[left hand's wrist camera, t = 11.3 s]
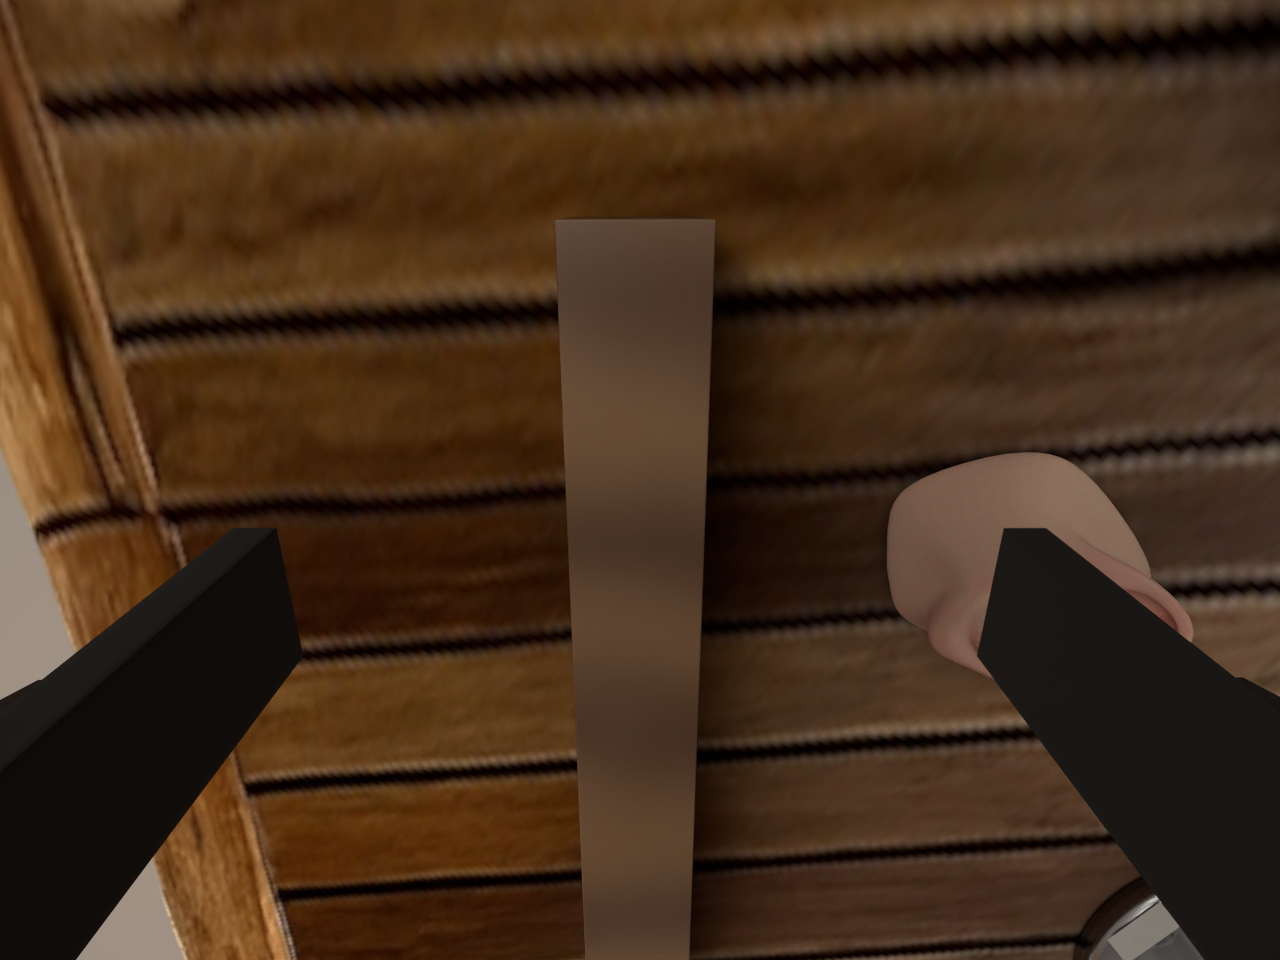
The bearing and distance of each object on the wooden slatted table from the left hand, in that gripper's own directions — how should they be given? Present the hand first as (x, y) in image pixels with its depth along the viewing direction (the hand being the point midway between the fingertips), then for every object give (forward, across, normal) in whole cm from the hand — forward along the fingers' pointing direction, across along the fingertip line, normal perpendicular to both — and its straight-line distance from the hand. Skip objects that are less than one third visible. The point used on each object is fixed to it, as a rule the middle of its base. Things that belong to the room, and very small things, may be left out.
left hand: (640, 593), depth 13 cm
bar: (+19, 0, -24) cm, 31 cm away
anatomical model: (+20, +18, -10) cm, 28 cm away
